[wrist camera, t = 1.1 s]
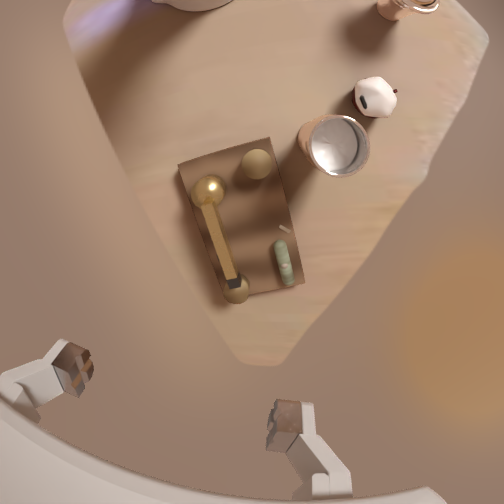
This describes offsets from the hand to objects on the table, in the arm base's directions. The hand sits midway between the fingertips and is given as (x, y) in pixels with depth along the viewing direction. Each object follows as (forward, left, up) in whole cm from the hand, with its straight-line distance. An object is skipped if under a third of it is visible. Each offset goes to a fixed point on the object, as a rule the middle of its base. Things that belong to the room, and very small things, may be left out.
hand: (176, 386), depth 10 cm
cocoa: (-10, +21, -37) cm, 44 cm away
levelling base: (+5, -2, -37) cm, 37 cm away
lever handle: (+4, -5, -34) cm, 34 cm away
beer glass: (-5, +12, -37) cm, 39 cm away
